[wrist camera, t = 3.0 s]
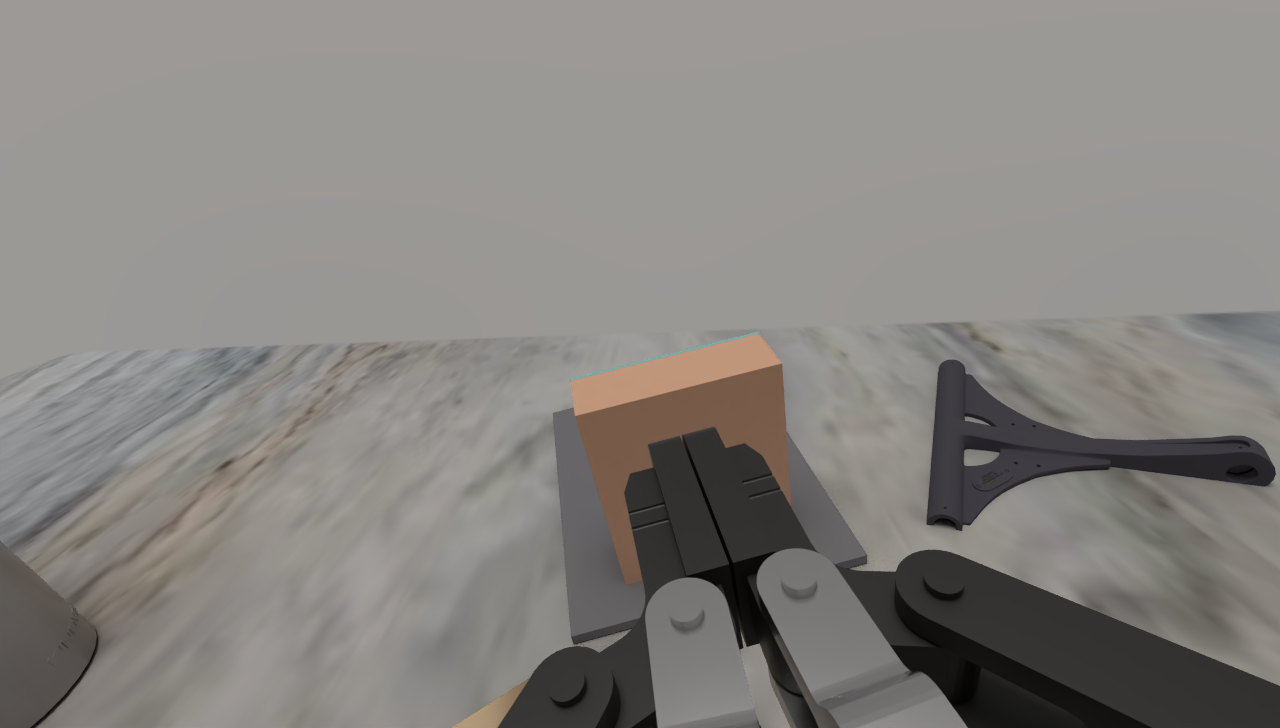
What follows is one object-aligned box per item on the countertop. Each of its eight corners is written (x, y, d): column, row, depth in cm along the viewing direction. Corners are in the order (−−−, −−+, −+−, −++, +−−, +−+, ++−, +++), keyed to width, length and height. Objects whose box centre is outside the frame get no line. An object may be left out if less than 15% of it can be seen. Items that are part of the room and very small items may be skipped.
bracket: (1320, 609, 24) (1351, 565, 23) (925, 533, 31) (929, 495, 30) (1215, 404, 35) (1232, 365, 34) (937, 379, 42) (940, 346, 40)
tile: (626, 585, 30) (574, 416, 24) (617, 541, 33) (569, 378, 27) (793, 539, 31) (782, 363, 25) (772, 499, 33) (757, 331, 27)
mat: (574, 644, 28) (571, 636, 28) (554, 419, 45) (552, 413, 44) (866, 563, 29) (867, 555, 29) (743, 371, 46) (743, 364, 45)
